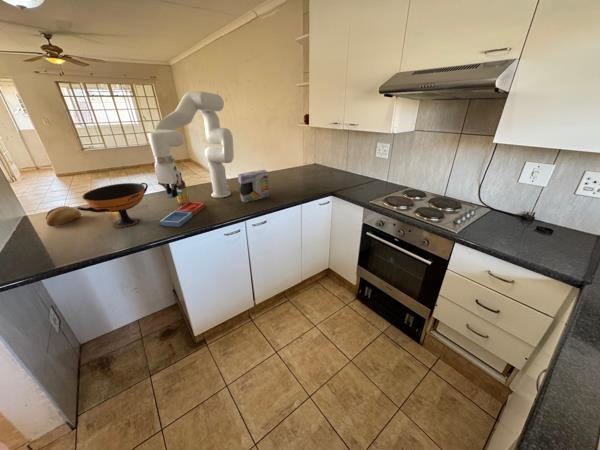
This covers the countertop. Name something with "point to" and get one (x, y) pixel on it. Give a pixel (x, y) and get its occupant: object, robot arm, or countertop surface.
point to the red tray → (194, 211)
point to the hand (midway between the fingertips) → (173, 196)
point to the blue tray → (176, 218)
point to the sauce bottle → (182, 197)
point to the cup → (116, 200)
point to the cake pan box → (253, 185)
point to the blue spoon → (177, 193)
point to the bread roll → (62, 215)
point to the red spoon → (191, 207)
